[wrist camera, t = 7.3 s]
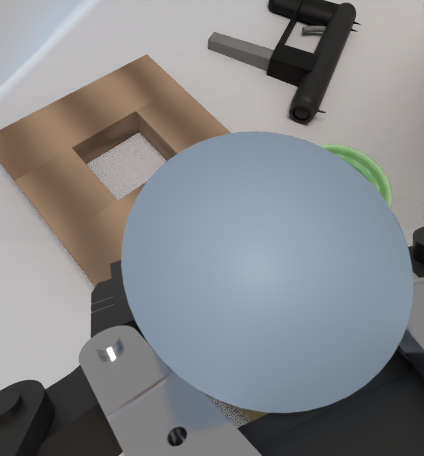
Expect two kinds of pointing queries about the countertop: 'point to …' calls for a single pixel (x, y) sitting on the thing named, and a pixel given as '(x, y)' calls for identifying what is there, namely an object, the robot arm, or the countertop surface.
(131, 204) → the socket block
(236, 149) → the pin
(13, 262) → the countertop surface
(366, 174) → the ramekin
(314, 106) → the black angled piece
